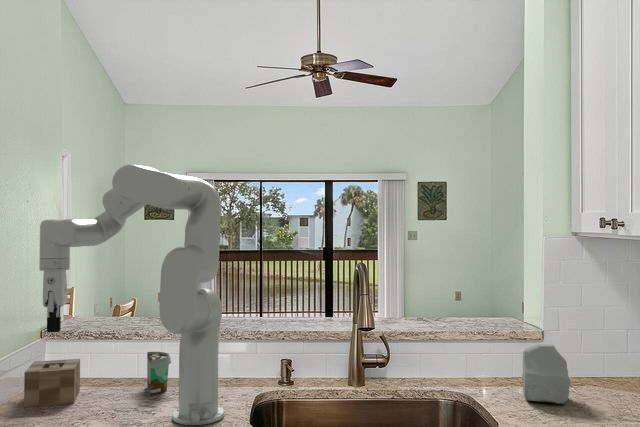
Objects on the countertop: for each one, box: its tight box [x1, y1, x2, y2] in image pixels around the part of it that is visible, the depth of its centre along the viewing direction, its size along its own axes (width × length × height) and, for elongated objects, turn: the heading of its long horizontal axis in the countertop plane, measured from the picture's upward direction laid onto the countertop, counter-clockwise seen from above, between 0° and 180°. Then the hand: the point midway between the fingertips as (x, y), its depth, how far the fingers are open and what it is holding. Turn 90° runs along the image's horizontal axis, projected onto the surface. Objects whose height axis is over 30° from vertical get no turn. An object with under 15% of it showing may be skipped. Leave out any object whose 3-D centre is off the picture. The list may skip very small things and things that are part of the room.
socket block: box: [23, 358, 81, 408], centre depth 153 cm, size 12×12×9 cm
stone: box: [522, 343, 572, 405], centre depth 153 cm, size 12×12×15 cm
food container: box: [146, 351, 172, 397], centre depth 161 cm, size 12×6×10 cm, turn 22°
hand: (53, 331), depth 154 cm, fingers closed
